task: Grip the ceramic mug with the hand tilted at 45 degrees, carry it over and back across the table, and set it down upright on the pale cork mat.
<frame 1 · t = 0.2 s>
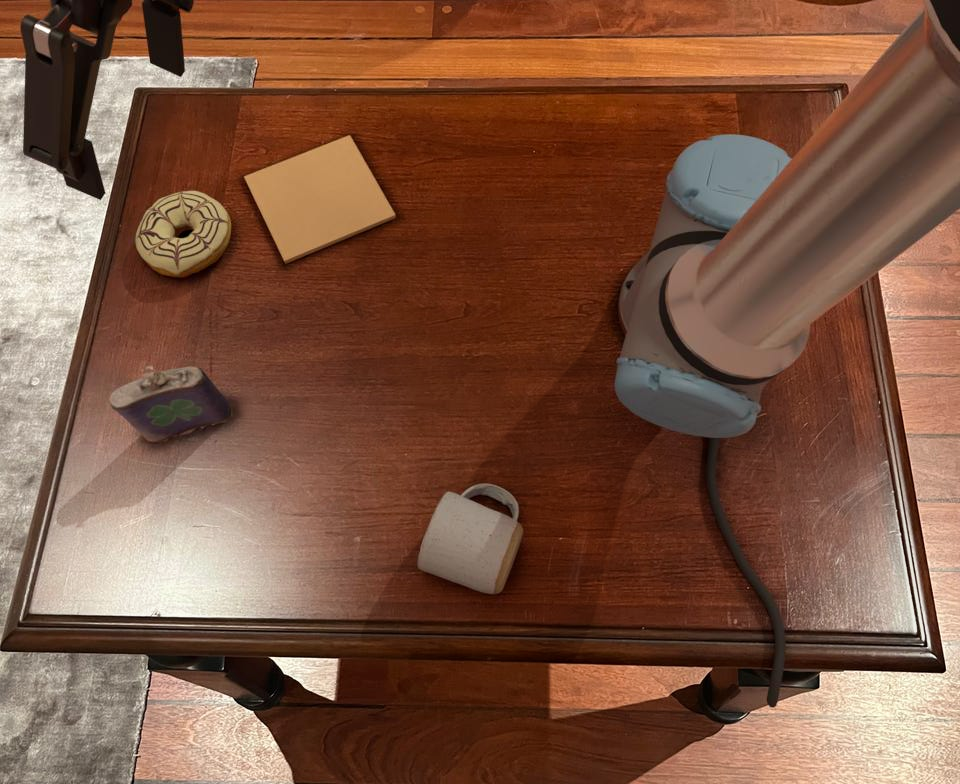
hand: (128, 125, 64), 28 cm above the table, tool tilted 20°, fingers open, 13 cm apart
ceramic mug: (475, 541, 77), on the table
cork mat: (319, 198, 96), on the table
flask: (190, 422, 84), on the table
decorated donut: (190, 244, 94), on the table
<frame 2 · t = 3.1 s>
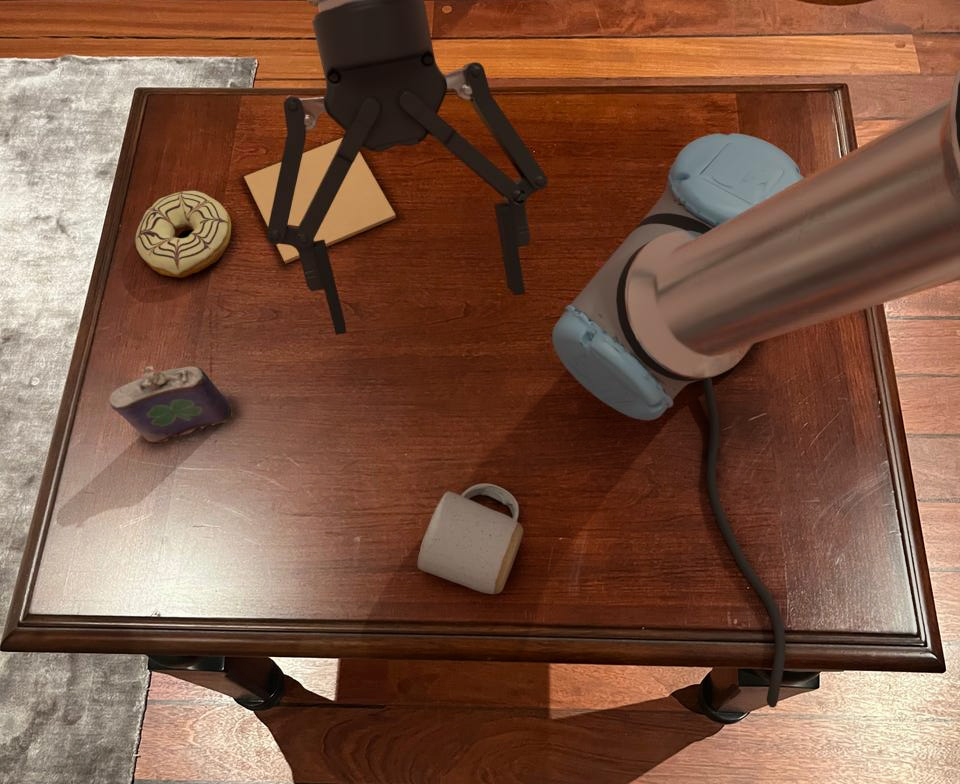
hand: (429, 310, 60), 24 cm above the table, tool tilted 45°, fingers open, 13 cm apart
nothing on the table moved.
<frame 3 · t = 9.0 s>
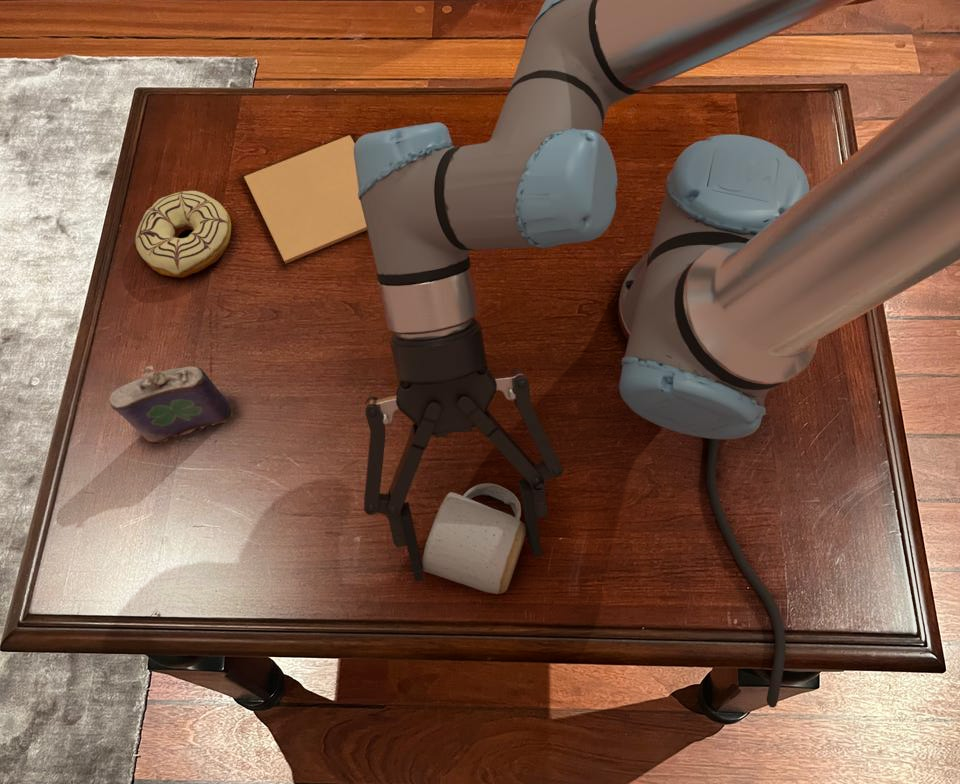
hand: (477, 560, 72), 4 cm above the table, tool tilted 45°, fingers closed on ceramic mug, 10 cm apart
ceramic mug: (478, 541, 77), on the table, touching gripper
everything else where it was.
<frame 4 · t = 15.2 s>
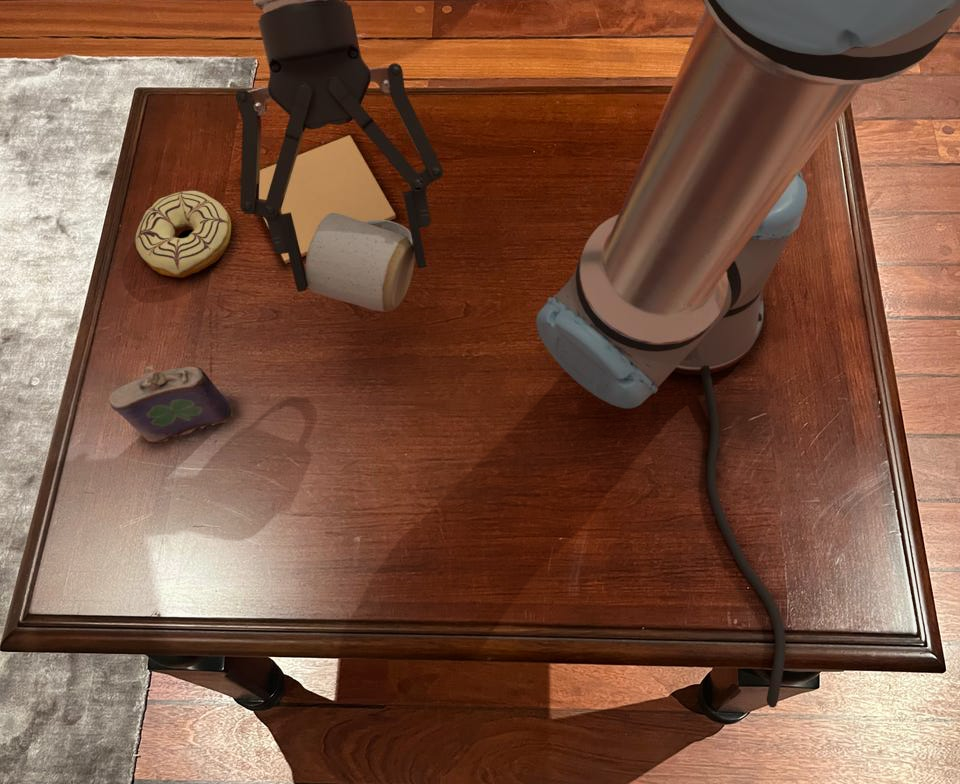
hand: (362, 276, 71), 16 cm above the table, tool tilted 45°, fingers closed on ceramic mug, 10 cm apart
ceramic mug: (371, 275, 77), point 12 cm above the table, touching gripper
everything else where it was.
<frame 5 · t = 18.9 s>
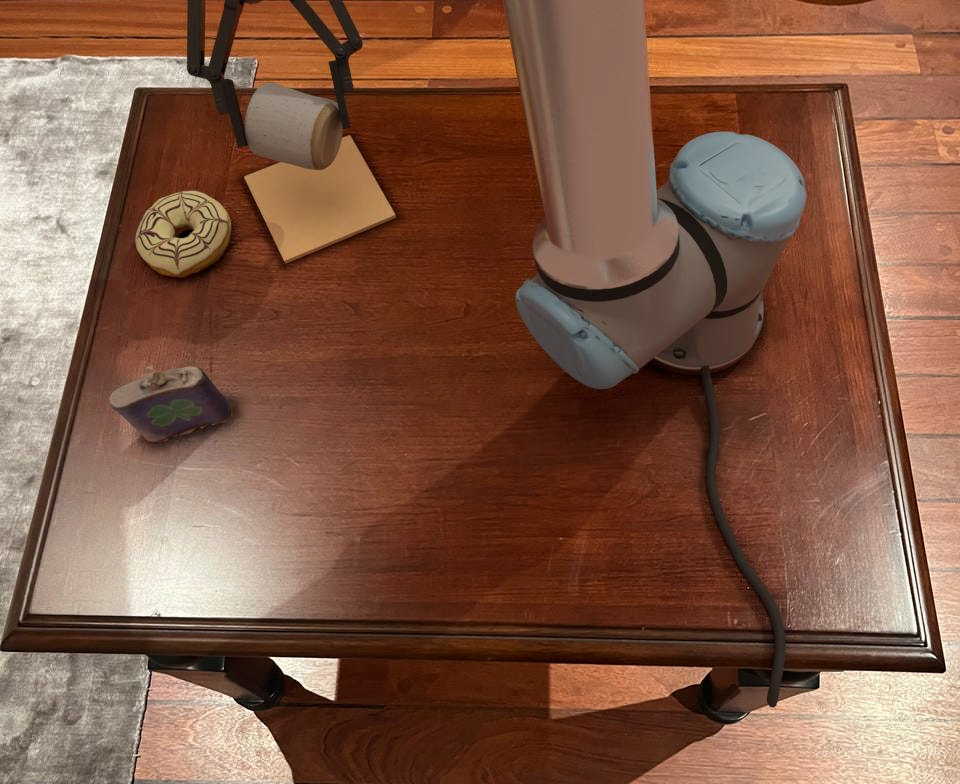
hand: (295, 137, 83), 13 cm above the table, tool tilted 45°, fingers closed on ceramic mug, 10 cm apart
ceramic mug: (307, 144, 88), point 9 cm above the table, touching gripper
everything else where it was.
when the fingers open (5 cm above the table, at t = 21.7 s): ceramic mug stays where it is, resting on cork mat.
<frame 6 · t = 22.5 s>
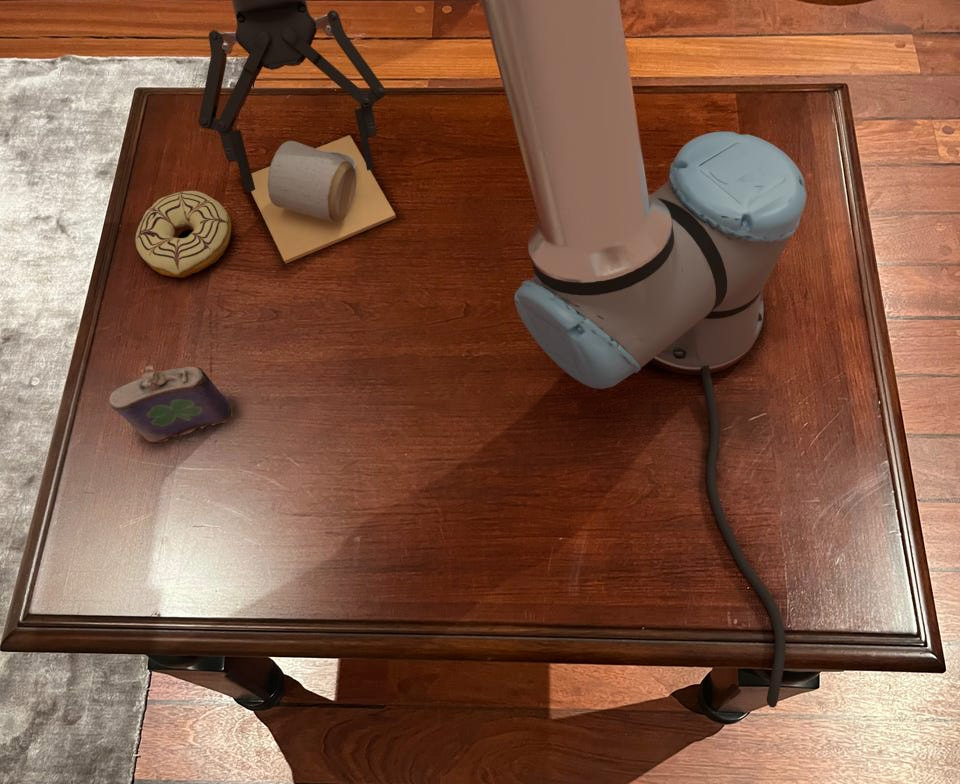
hand: (310, 180, 90), 6 cm above the table, tool tilted 45°, fingers open, 13 cm apart
ceramic mug: (323, 195, 95), resting on cork mat
everything else where it was.
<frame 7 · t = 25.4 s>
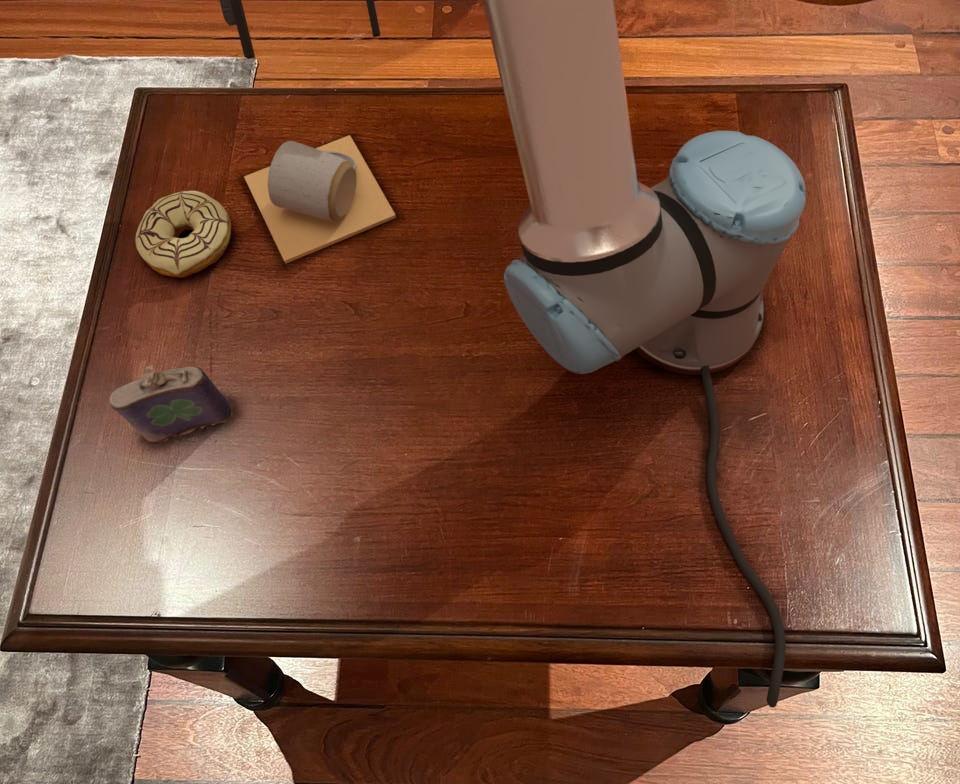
hand: (313, 46, 85), 16 cm above the table, tool tilted 45°, fingers open, 13 cm apart
nothing on the table moved.
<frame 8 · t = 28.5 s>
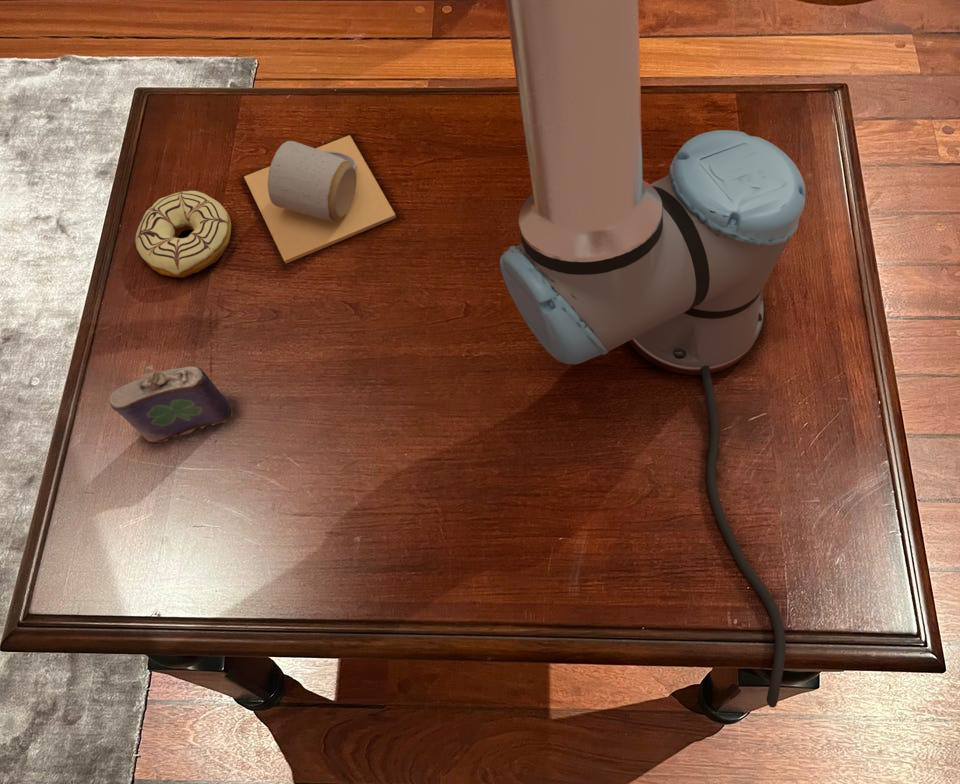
nothing on the table moved.
at the end: ceramic mug inside the target area on the cork mat (0.6 cm from its centre), point 0.4 cm above the cork mat's base; ceramic mug tilted 1°; the gripper is holding nothing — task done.
